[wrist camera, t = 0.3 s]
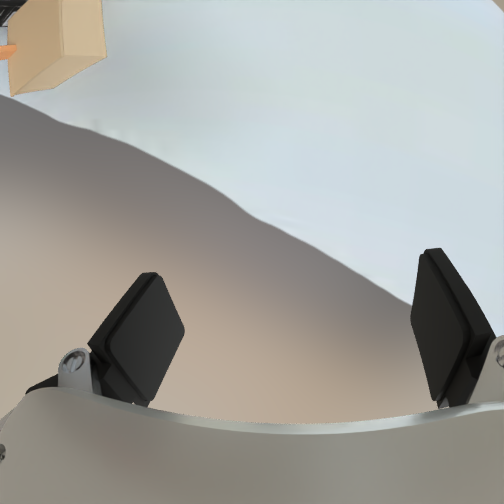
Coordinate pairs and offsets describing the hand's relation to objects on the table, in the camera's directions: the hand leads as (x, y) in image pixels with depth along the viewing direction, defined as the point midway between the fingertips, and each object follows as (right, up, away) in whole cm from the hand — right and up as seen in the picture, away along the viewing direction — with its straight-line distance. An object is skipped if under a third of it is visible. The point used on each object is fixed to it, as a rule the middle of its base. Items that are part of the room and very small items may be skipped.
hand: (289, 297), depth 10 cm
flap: (-34, +34, +12) cm, 50 cm away
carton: (-32, +39, +20) cm, 55 cm away
